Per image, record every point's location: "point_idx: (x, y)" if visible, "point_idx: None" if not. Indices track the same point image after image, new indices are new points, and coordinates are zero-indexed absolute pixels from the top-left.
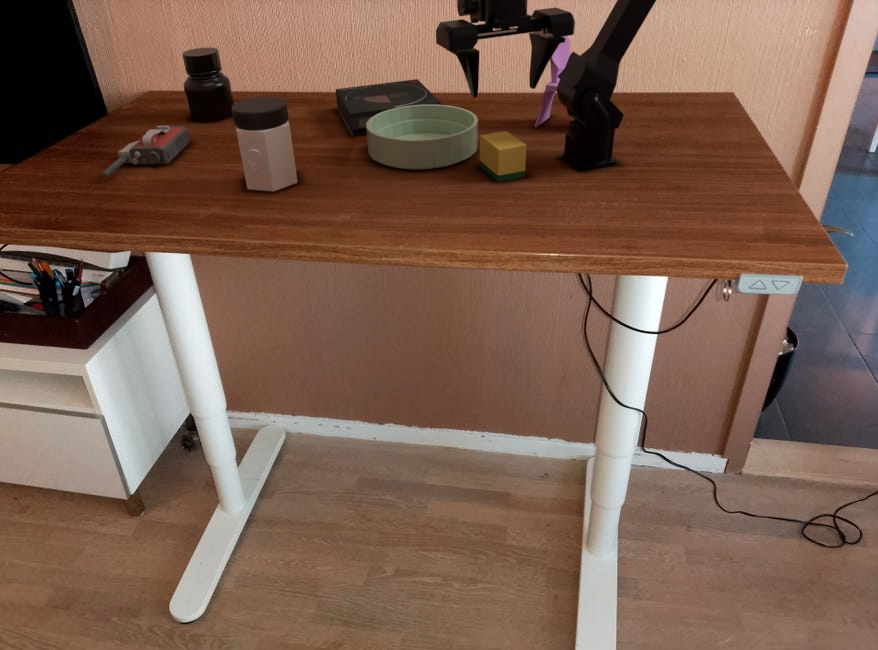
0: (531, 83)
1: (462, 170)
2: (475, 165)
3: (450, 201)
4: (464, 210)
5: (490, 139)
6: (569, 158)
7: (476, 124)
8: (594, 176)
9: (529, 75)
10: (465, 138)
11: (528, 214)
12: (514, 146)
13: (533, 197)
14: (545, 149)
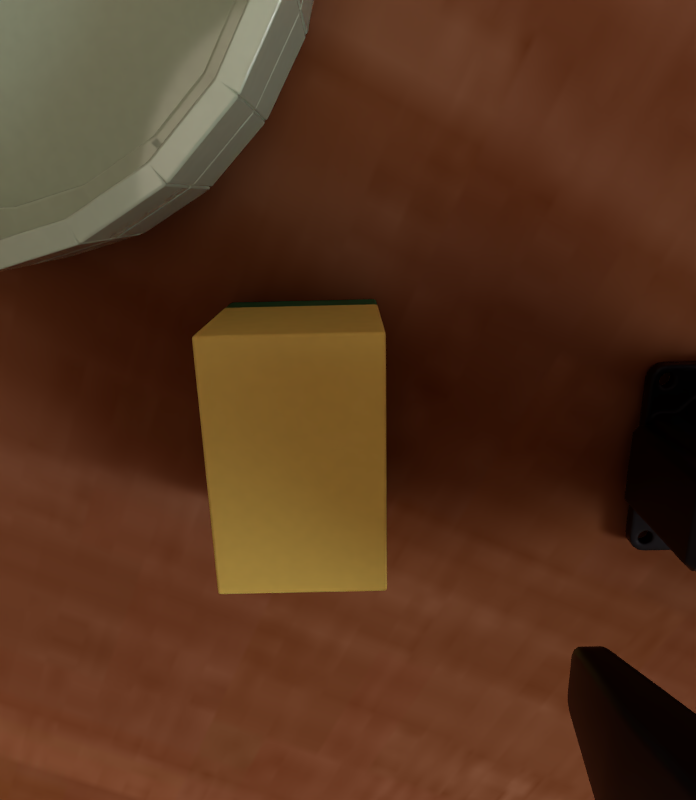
0: (585, 716)
1: (135, 311)
2: (217, 274)
3: (6, 596)
4: (43, 678)
5: (230, 434)
6: (632, 484)
7: (249, 77)
8: (639, 599)
9: (626, 724)
10: (135, 216)
11: (248, 773)
12: (316, 587)
13: (322, 674)
14: (653, 214)
